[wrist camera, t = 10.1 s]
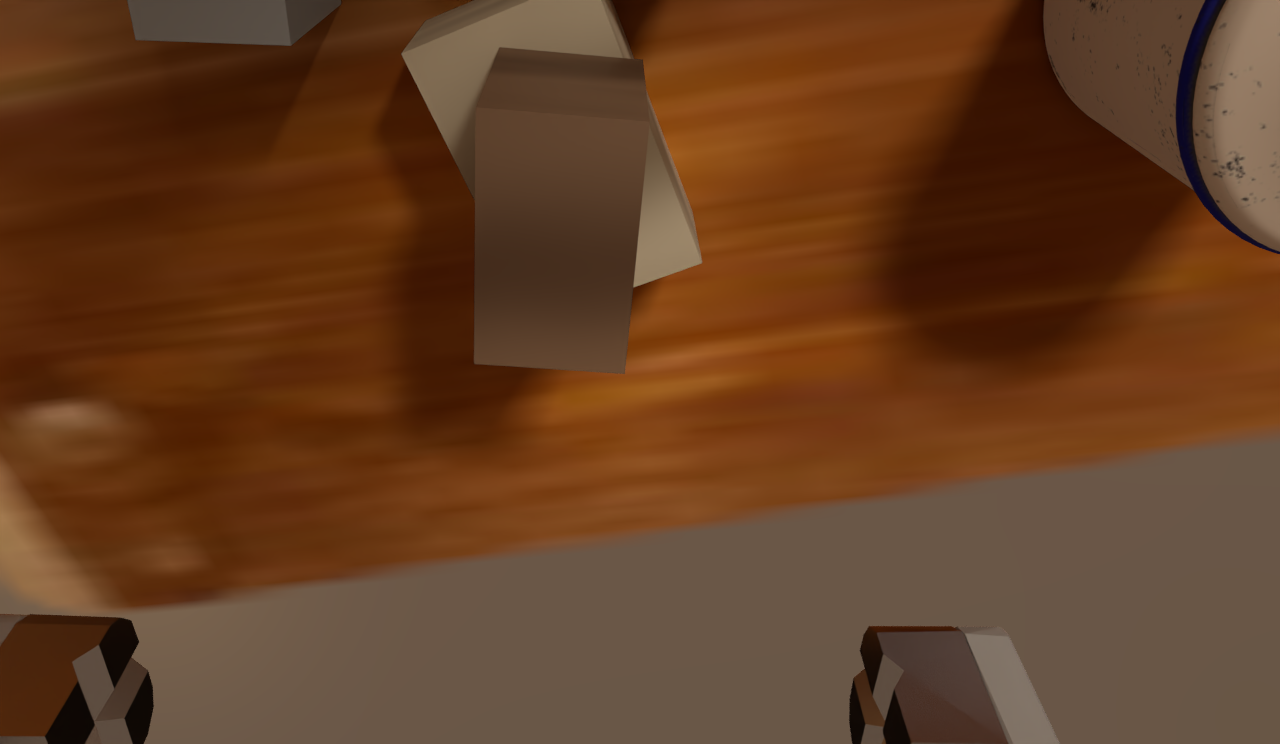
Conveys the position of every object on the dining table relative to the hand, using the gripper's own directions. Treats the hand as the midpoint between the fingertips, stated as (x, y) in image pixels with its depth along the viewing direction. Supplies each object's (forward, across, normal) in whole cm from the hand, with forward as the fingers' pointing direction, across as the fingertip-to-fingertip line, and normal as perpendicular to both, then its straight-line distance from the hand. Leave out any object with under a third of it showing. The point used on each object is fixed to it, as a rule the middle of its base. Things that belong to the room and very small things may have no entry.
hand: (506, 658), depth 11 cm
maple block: (+21, 0, 0) cm, 21 cm away
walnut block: (+17, 0, 0) cm, 17 cm away
